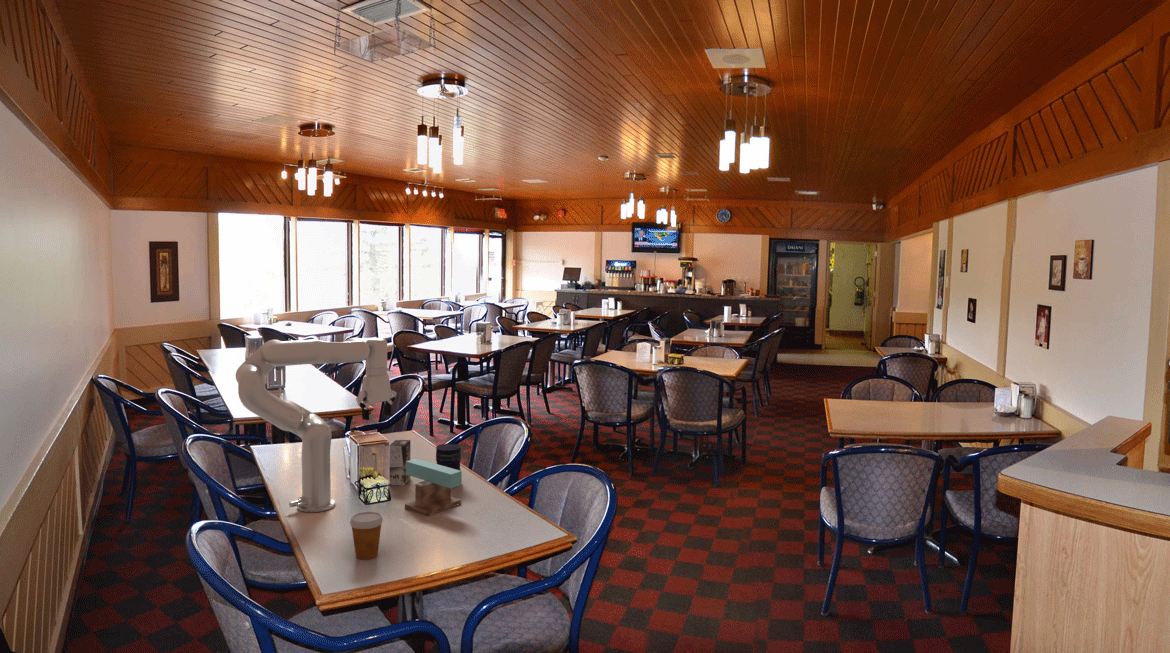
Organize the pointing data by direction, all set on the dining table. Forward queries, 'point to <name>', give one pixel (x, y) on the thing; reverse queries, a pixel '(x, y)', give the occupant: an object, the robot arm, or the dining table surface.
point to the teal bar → (434, 473)
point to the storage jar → (449, 455)
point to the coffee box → (399, 462)
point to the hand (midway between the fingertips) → (376, 417)
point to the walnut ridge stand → (431, 498)
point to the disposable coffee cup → (366, 534)
